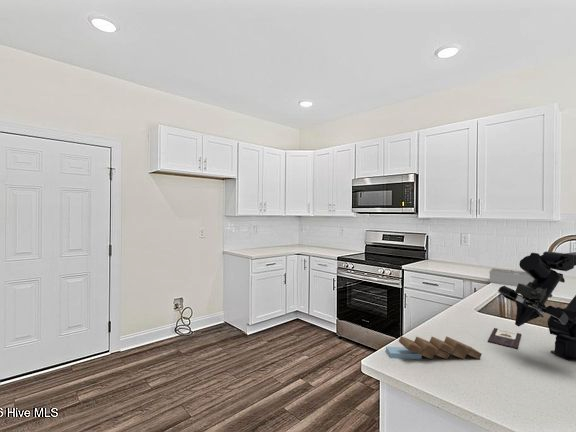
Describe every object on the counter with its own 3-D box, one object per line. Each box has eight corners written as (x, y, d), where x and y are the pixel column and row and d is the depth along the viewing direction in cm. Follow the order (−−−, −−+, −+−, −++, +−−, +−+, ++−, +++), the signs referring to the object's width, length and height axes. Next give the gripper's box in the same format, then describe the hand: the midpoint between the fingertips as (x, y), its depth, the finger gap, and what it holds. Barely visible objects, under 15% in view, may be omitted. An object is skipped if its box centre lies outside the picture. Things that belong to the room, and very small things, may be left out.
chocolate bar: (487, 340, 116) (494, 327, 129) (487, 343, 116) (494, 330, 129) (517, 348, 110) (521, 333, 124) (517, 350, 110) (521, 336, 124)
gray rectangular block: (491, 279, 235) (492, 268, 235) (539, 285, 217) (540, 273, 217) (489, 283, 222) (489, 271, 222) (539, 290, 204) (539, 277, 204)
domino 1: (415, 347, 106) (386, 346, 106) (421, 354, 101) (390, 353, 101) (415, 353, 106) (385, 352, 106) (421, 360, 101) (390, 359, 101)
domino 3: (439, 345, 105) (416, 336, 103) (449, 354, 101) (426, 344, 98) (436, 351, 105) (413, 341, 103) (447, 359, 101) (423, 349, 98)
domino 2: (424, 345, 105) (401, 335, 103) (434, 353, 100) (409, 343, 98) (422, 351, 105) (398, 341, 103) (431, 359, 100) (406, 349, 98)
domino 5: (471, 347, 106) (446, 336, 105) (481, 353, 101) (455, 342, 100) (468, 352, 106) (444, 341, 105) (479, 359, 101) (453, 348, 100)
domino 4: (455, 346, 106) (431, 336, 104) (466, 353, 101) (441, 342, 99) (453, 352, 106) (429, 341, 104) (463, 359, 101) (439, 348, 99)
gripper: (503, 264, 107) (478, 302, 106) (568, 287, 90) (538, 332, 90) (517, 278, 112) (493, 314, 111) (580, 303, 95) (552, 345, 94)
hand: (516, 325), depth 101 cm, fingers closed
